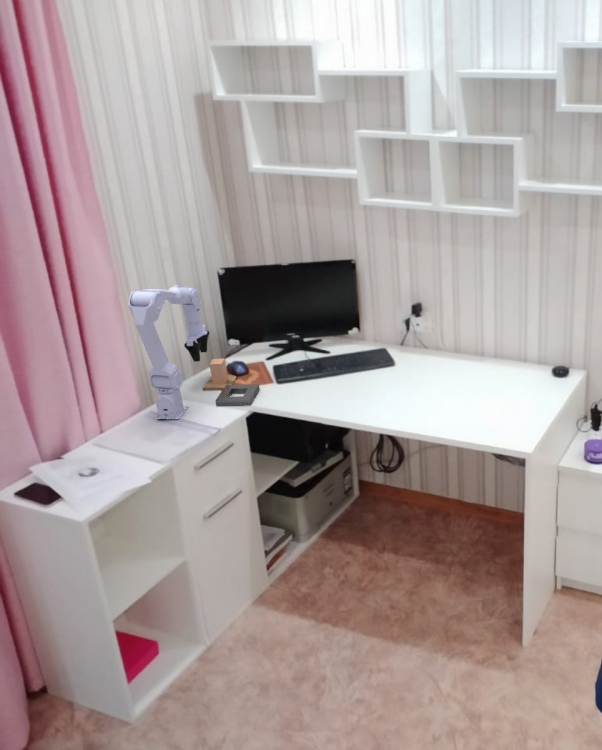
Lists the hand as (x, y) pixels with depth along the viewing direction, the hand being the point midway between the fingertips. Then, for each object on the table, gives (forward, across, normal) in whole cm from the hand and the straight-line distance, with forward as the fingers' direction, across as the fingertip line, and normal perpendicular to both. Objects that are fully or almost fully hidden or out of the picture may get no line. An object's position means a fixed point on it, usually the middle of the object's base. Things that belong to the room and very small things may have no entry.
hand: (200, 356), depth 309 cm
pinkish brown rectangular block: (+10, -1, -6) cm, 11 cm away
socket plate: (+10, -12, -16) cm, 23 cm away
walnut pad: (+10, -1, -6) cm, 12 cm away
